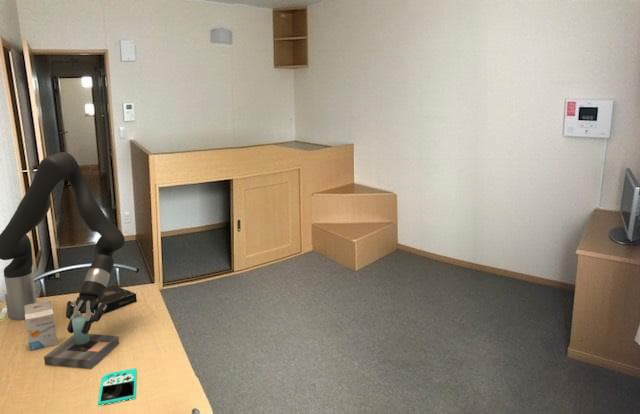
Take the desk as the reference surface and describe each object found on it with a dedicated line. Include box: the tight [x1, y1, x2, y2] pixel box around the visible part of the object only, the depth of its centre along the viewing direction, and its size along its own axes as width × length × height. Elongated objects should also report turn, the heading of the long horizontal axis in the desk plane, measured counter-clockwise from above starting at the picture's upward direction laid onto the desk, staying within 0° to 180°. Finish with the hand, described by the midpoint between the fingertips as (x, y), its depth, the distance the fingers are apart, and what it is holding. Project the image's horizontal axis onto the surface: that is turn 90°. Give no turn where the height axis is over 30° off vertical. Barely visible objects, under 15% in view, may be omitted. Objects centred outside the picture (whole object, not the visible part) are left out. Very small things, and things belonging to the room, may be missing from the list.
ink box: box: [24, 300, 58, 351], centre depth 164 cm, size 8×5×15 cm, turn 123°
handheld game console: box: [97, 368, 137, 406], centre depth 141 cm, size 10×16×1 cm, turn 20°
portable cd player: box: [76, 285, 137, 315], centre depth 199 cm, size 16×17×4 cm
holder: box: [43, 333, 120, 370], centre depth 159 cm, size 16×16×3 cm
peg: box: [72, 315, 90, 345], centre depth 158 cm, size 4×4×8 cm
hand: (77, 332), depth 156 cm, fingers closed on peg, 4 cm apart
